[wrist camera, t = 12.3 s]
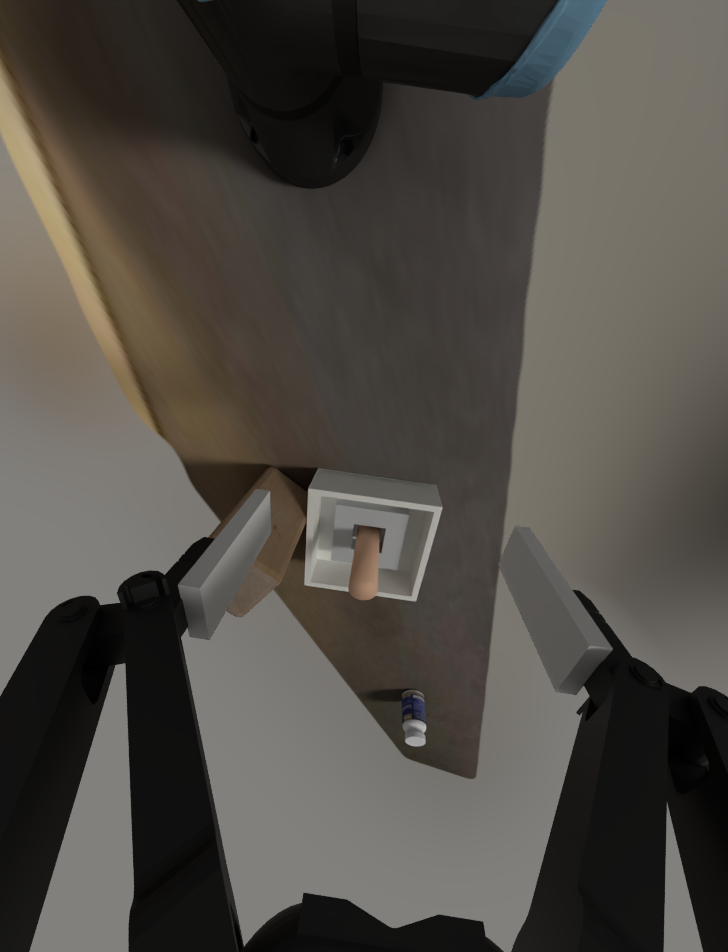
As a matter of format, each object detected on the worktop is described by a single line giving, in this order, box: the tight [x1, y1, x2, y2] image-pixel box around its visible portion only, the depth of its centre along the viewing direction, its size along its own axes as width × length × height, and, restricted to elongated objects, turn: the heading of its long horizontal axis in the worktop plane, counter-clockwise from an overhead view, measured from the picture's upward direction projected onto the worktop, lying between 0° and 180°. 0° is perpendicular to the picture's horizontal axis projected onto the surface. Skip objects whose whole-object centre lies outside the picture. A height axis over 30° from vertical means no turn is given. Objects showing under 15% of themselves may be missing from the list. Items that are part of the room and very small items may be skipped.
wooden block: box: [208, 467, 308, 617], centre depth 45 cm, size 10×10×20 cm
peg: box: [348, 525, 380, 600], centre depth 48 cm, size 4×4×14 cm
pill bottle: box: [402, 690, 426, 746], centre depth 74 cm, size 6×6×10 cm
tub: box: [305, 468, 443, 601], centre depth 52 cm, size 20×20×7 cm
